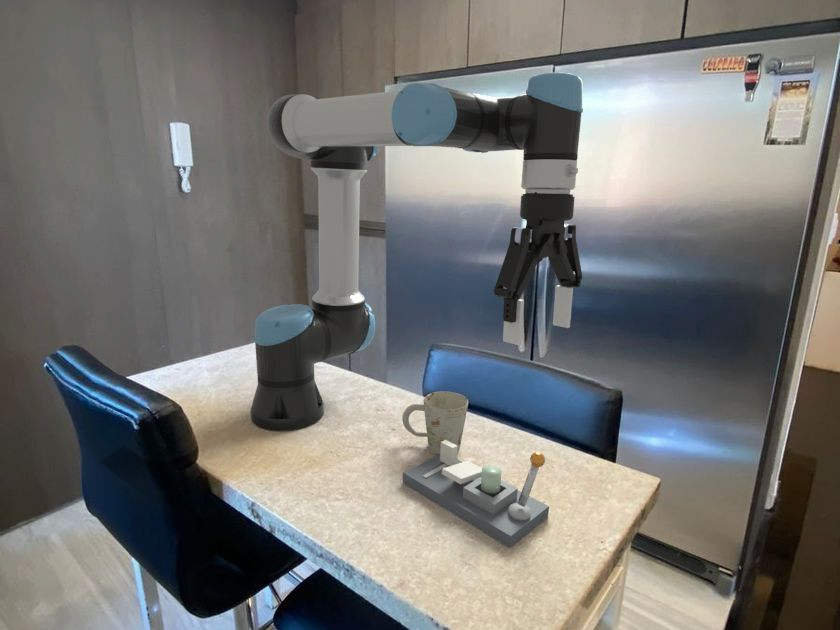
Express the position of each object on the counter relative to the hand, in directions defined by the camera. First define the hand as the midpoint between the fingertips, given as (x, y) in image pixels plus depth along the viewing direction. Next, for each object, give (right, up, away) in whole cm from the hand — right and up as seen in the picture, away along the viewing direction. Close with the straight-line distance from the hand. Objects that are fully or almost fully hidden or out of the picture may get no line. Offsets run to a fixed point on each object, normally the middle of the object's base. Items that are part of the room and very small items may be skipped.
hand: (538, 334), depth 80 cm
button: (-7, -24, +1) cm, 25 cm away
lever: (-3, -26, -3) cm, 26 cm away
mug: (-16, -23, +21) cm, 34 cm away
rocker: (-11, -23, +5) cm, 26 cm away
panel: (-10, -27, +4) cm, 29 cm away
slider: (-13, -23, +11) cm, 29 cm away
